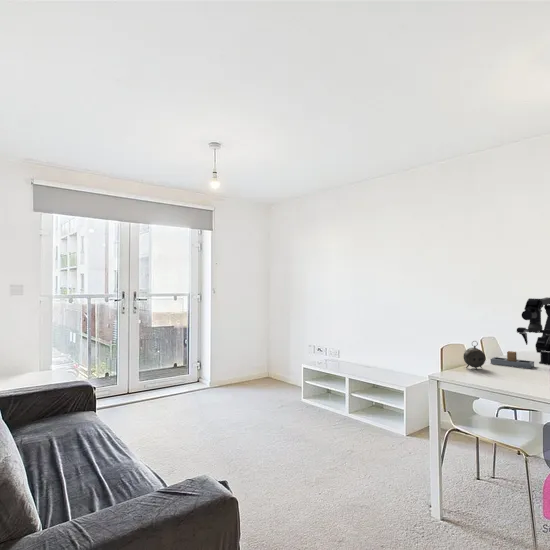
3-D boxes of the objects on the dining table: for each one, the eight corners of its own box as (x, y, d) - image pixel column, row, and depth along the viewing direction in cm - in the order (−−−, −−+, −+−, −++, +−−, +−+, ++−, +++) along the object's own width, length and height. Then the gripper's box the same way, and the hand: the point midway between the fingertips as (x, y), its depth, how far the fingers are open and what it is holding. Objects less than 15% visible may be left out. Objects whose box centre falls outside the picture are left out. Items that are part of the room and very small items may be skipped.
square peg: (509, 364, 237) (508, 351, 237) (516, 365, 234) (516, 351, 234) (507, 365, 234) (507, 351, 234) (515, 366, 231) (514, 352, 231)
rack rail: (490, 363, 238) (490, 359, 238) (494, 361, 245) (494, 356, 245) (530, 368, 224) (530, 363, 224) (534, 366, 230) (534, 361, 230)
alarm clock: (482, 368, 226) (482, 340, 227) (487, 370, 221) (486, 341, 221) (463, 367, 228) (462, 340, 228) (467, 369, 222) (466, 341, 223)
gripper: (514, 319, 234) (514, 345, 233) (551, 321, 221) (552, 348, 220) (518, 318, 242) (519, 343, 241) (555, 319, 229) (555, 346, 228)
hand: (535, 345), depth 233 cm, fingers open, 9 cm apart
